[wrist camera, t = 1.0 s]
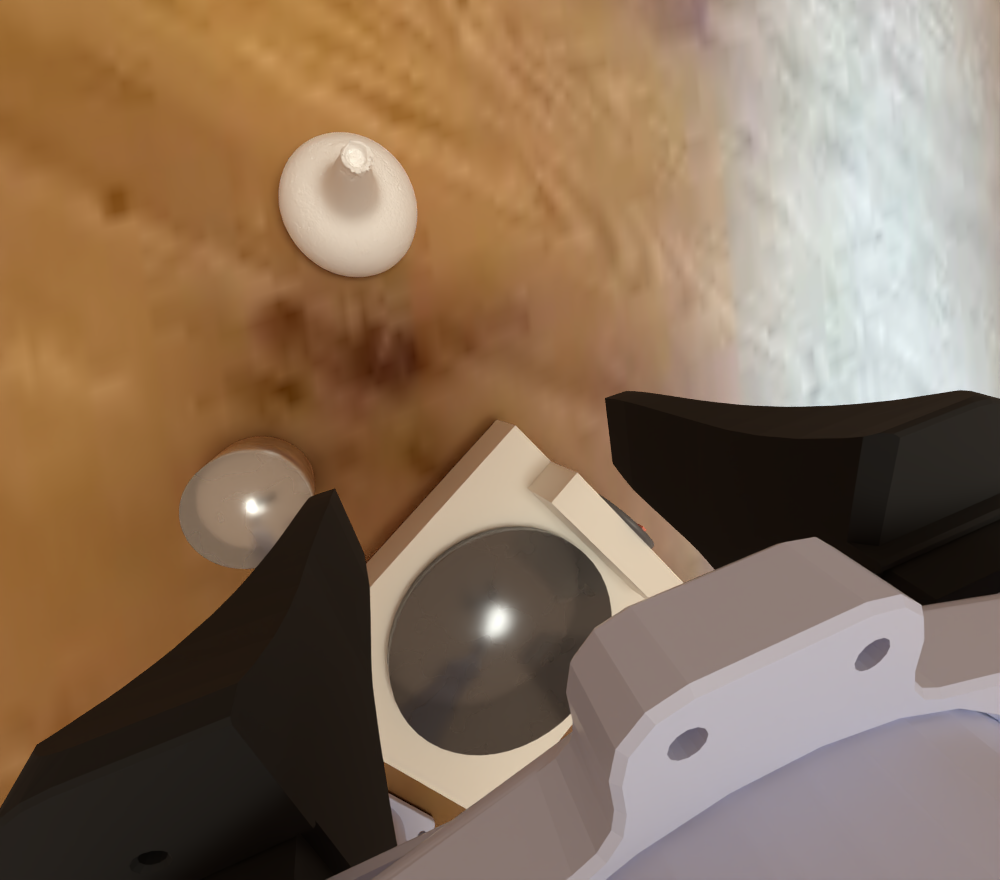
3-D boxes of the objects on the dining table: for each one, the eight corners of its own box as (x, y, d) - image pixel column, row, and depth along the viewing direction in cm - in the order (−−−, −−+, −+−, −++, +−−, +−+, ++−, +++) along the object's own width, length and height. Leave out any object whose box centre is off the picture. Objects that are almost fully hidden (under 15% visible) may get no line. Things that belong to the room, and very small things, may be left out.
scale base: (478, 783, 32) (514, 882, 26) (277, 661, 26) (263, 750, 20) (652, 567, 34) (723, 610, 28) (501, 414, 29) (549, 426, 23)
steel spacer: (268, 549, 25) (255, 591, 21) (183, 490, 24) (148, 520, 19) (335, 478, 26) (337, 503, 21) (257, 415, 24) (241, 427, 20)
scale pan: (504, 781, 29) (509, 792, 28) (332, 672, 24) (332, 682, 23) (641, 609, 30) (649, 615, 30) (504, 478, 26) (509, 481, 25)
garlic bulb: (356, 130, 24) (354, 6, 17) (438, 234, 26) (471, 164, 18) (256, 204, 23) (206, 108, 16) (347, 308, 25) (342, 266, 17)
